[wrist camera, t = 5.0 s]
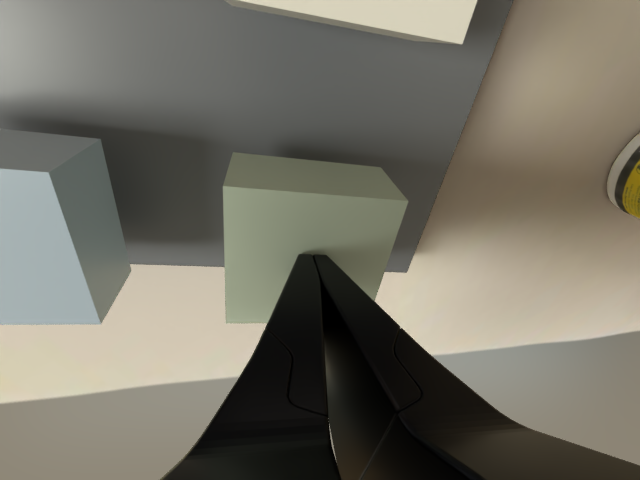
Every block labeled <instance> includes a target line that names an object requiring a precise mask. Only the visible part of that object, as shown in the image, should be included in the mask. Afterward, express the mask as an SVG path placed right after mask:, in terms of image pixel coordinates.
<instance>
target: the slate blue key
mask: <svg viewBox="0 0 640 480" xmlns="http://www.w3.org/2000/svg"><path fill="white" fill-rule="evenodd" d="M130 272H131V267H130V263H129V259H128V254H127V250H126V246H125V241H124V237H123V233H122V229H121V224H120V220H119V216H118V211H117V207H116V203H115V199H114V194H113V190H112V186H111V182H110V177H109V173H108V169H107V164H106V160H105V156H104V152H103V147H102V143H101V139H97V138H87V137H77V136H67V135H58V134H48V133H38V132H28V131H18V130H8V129H0V325H51V324H101V323H102V321H103V320H104V318H105V316H106V314H107V313H108V311H109V309H110V307H111V306H112V304H113V302H114V300H115V299H116V297H117V295H118V293H119V292H120V290H121V288H122V286H123V285H124V283H125V281H126V279H127V278H128V276H129V274H130Z"/></svg>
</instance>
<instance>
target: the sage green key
mask: <svg viewBox="0 0 640 480" xmlns="http://www.w3.org/2000/svg"><path fill="white" fill-rule="evenodd" d="M407 204H408V200H407V199H406V197H405V196H404V195H403V194H402V193H401V191H400V190H399V189H398V188H397V186H396V185H395V184H394V183H393V182H392V180H391V179H390V178H389V177H388V175H387V174H386V173H385V172H384V171H383V169H382V168H381V167H373V166H363V165H354V164H344V163H334V162H324V161H314V160H305V159H295V158H285V157H275V156H265V155H256V154H246V153H236V152H233V153H232V157H231V160H230V164H229V167H228V170H227V174H226V177H225V181H224V184H223V215H224V260H225V306H226V323H268V321H269V319H270V316H271V314H272V312H273V310H274V308H275V305H276V303H277V301H278V299H279V296H280V294H281V292H282V290H283V287H284V285H285V283H286V281H287V279H288V276H289V274H290V272H291V270H292V267H293V265H294V263H295V261H296V258H297V256H298V255H299V254H311V255H312V256H313V255H314V254H320V255H327V256H328V257H329V258H331V259H332V260H333V261H334V262H335V263H336V264H337V265H338V266H339V267H340V268H341V269H342V270H343V271H344V272H345V273H346V274H347V275H348V276H349V277H350V278H351V279H352V280H353V281H354V282H355V283H356V284H357V285H358V286H359V287H360V288H361V289H362V290H363V291H364V292H365V293H366V294H367V295H368V296H369V297H370V298H371V299H373V300H374V301H375V298H376V295H377V292H378V289H379V286H380V283H381V280H382V277H383V274H384V272H385V269H386V266H387V263H388V260H389V257H390V254H391V251H392V248H393V245H394V242H395V239H396V236H397V233H398V230H399V227H400V225H401V222H402V219H403V216H404V213H405V210H406V207H407Z"/></svg>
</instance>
